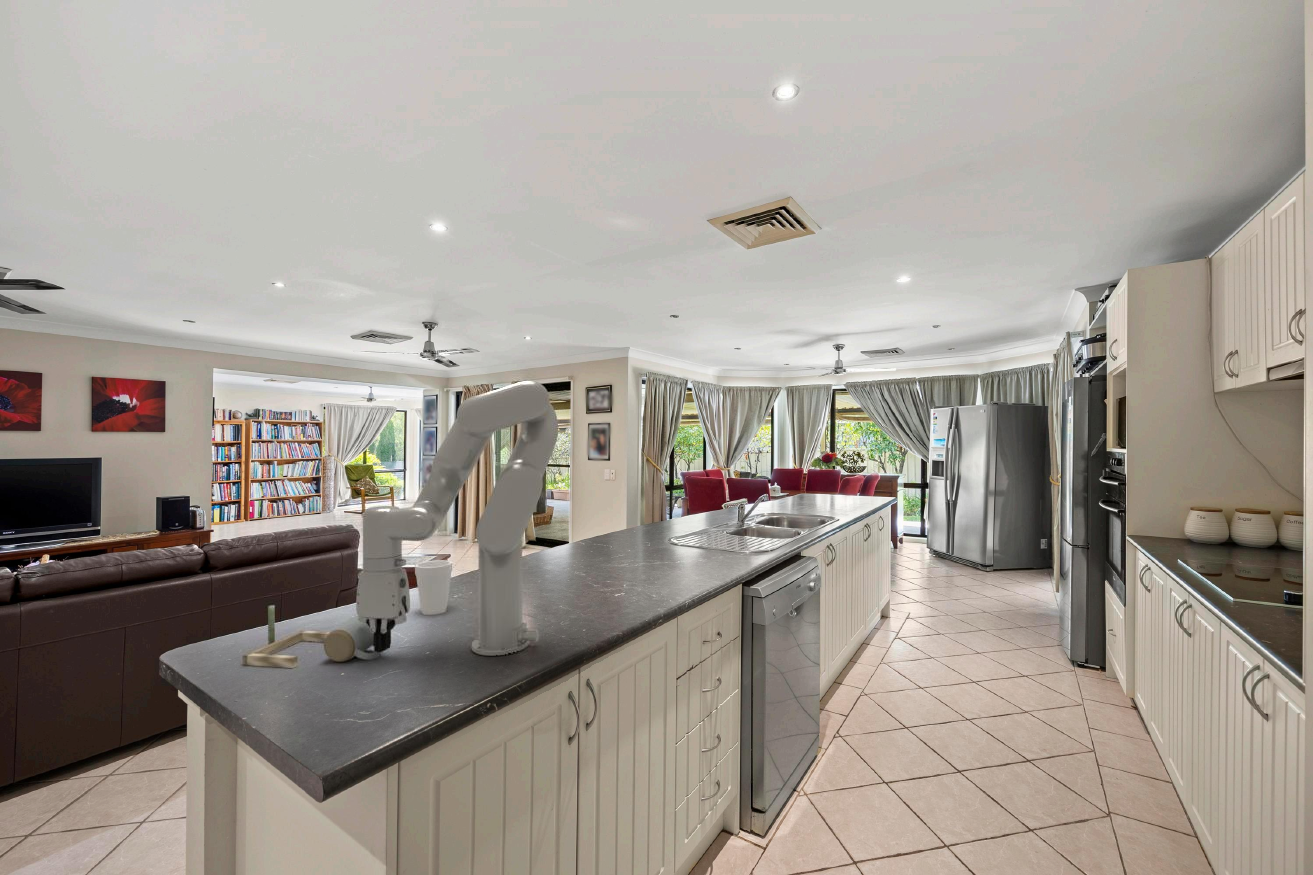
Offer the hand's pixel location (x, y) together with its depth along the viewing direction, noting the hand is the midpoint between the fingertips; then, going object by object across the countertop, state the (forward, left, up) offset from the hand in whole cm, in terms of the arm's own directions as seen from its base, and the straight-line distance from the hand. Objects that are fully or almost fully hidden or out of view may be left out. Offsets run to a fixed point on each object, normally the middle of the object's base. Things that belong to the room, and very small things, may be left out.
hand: (382, 649), depth 118 cm
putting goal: (+21, 0, -2) cm, 21 cm away
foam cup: (+8, -32, -2) cm, 33 cm away
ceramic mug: (+6, 0, -2) cm, 7 cm away
